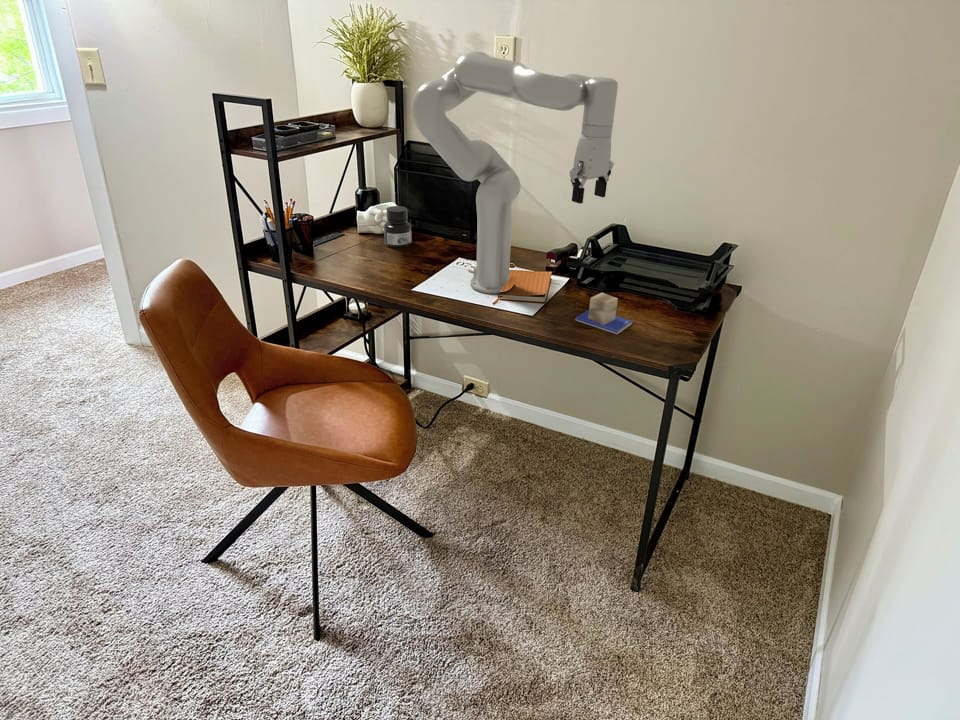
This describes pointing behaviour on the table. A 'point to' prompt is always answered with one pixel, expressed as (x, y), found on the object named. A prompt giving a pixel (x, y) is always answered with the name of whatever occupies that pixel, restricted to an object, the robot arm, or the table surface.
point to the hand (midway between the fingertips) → (588, 199)
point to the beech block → (602, 308)
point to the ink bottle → (397, 227)
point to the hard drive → (612, 326)
